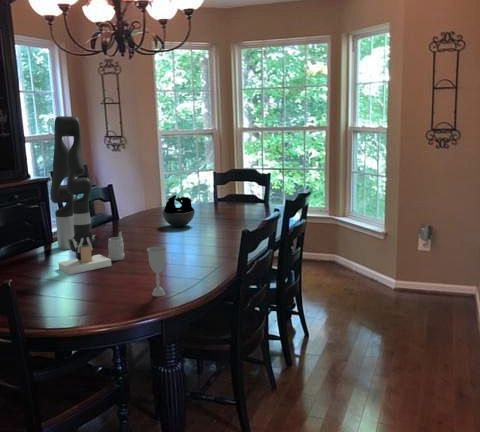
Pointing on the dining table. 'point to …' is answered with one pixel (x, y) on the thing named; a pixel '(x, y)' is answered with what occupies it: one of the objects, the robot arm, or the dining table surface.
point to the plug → (85, 254)
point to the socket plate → (84, 264)
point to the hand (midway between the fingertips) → (84, 258)
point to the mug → (116, 248)
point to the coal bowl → (178, 211)
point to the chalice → (157, 266)
